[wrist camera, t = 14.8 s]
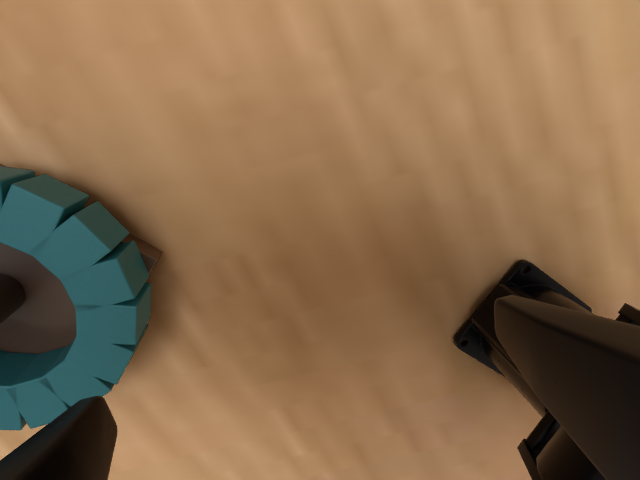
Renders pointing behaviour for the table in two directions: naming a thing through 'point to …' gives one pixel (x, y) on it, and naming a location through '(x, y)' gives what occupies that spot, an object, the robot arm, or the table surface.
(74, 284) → the hoop
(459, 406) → the table surface
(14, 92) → the table surface
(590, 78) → the table surface
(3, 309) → the stand
